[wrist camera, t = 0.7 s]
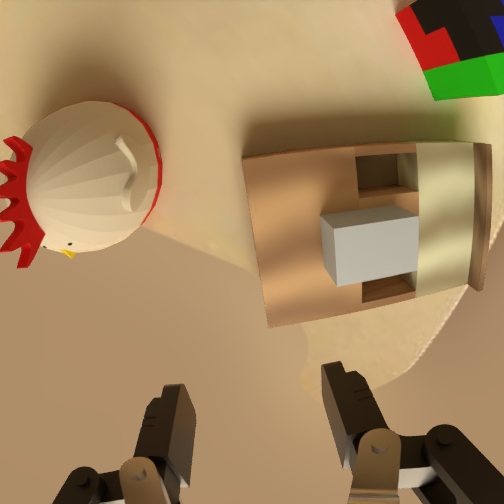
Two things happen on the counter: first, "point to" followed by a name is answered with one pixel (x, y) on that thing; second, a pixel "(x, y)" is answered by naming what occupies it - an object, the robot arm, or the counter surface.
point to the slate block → (369, 244)
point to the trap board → (351, 198)
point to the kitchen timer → (79, 180)
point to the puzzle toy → (458, 45)
